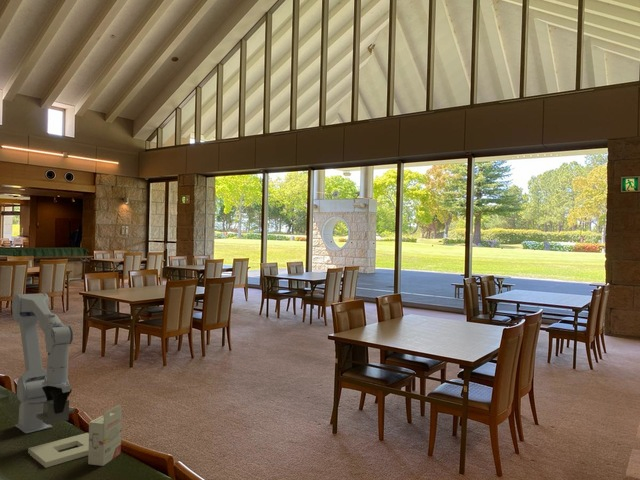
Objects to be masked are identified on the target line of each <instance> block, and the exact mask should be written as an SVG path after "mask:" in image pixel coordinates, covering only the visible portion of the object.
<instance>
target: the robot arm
mask: <svg viewBox="0 0 640 480" xmlns="http://www.w3.org/2000/svg"><path fill="white" fill-rule="evenodd" d="M11 302H12V303H11V310H12V317H13V321H14V322H16V323H18V325H19V329H20V336H21V343H22V345H21V346H22V351H23V359H24V360H23V361H24V368H25V372H24V373H22V375H20V376H19V377H18V379H17V381H16V384H17V386H16V397H17V399H18V401H20V404H19V408H18V409H19V410H18V411H19V412H18V423H16V424H15V427H16V428H18V429H19V430H20V431H22V432H23V433H24V434H30V433H33V432H38V431H42V430H46V429H51V428H53V425H52V424H49V425H47V424H45V423H44V422H42V420H39V419H38V418H36V415H37V414H42V413H43V402H44V401H49V400H53V402H54V411H55V413H56V414H57V413H62V412H63V410H64V407H65V404H66V401H67V399H68V398H69V397H70V394H71V393H72V391H73V390H72V388H71V384H70V382H69V378H68V377H69V376H68V375H69V355H70V349H69V348H70V345H71V344H72V343H73V340H74V331H73V329H72V326H71V325H67V324H64V323H63V322H62V320H61V319H60V318H59V316H58V315H57V314H56V313H52V311H51V310H50V308H49V307H50V298H49V295H48V294H47V293H46V292H42V293H41V292H40V293H24V294H22V293H21V294H19V293H16V294H14V296H13V297H12V300H11ZM37 322H38V326H39V327H40V329H41V331H42V332H43V334H44V342H45V350H46V351H45V352H46V353H47V360H46V362H47V363H46V369H45V368H44V366H43V362H42V361H43V360H42V355H41V354H42V353H41V348H40V347H41V346H40V340H39V332H38V327H37Z"/></svg>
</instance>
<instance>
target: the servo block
mask: <svg viewBox="0 0 640 480" xmlns="http://www.w3.org/2000/svg"><path fill="white" fill-rule="evenodd" d="M75 410H76V409H75V408H72V407H70V400H69V399H68V398H67V401H66V404H65V407H64V410H63V412H62V413H57V414H56V413H55V411H54V402H53V400H49V401H44V402H43V413H42V414H37V415H36V418H38V419H39V420H42V422H44V423H45V424H47V425H49V424H50V425H54V424H57V423H61V422H66V421H69V416H70V414H73V413H75V412H76V411H75Z"/></svg>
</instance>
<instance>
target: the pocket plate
mask: <svg viewBox="0 0 640 480" xmlns="http://www.w3.org/2000/svg"><path fill="white" fill-rule="evenodd" d="M76 446H77V447H76ZM73 447H74V448H73ZM70 448H71V449H70ZM66 449H67V450H66ZM62 450H63V451H62ZM88 450H89V432H85V433H81V434H77V435H73V436H69V437H66V438H63V439H62V438H61V439H58V440H55V441H51V442H46V443H42V444H39V445H35V446H31V447H28V448H27V454H28V453H29V454H30V455H29V454H28V455H29V456H31V457H32V458H33V459H34V460H35V461H37V463H39V464H40V465H42V466H43V467H44V468H47V469H48V468H49V467H53V466H56V465H59V464H64V463H67V462H69V461H73V460H77V459H80V458H83V457H84V458H85V457H88Z"/></svg>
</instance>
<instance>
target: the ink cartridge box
mask: <svg viewBox="0 0 640 480" xmlns="http://www.w3.org/2000/svg"><path fill="white" fill-rule="evenodd" d="M122 412H123V411H122V404H121V403H120V404H118V405H116V406H114V407H111V408H110V409H108V410H106V411H104V412H103V415H101V416H99V417H97V418H95V419H93V420H90V421H89V422H88V433H89V450H88V456H87V457H88V459H87V463H88V465H93V466H99V467H103V466H105V465H106V464H108V463H109V462H111V461H112V460H115V458H117V457H118V456H120V454H121V452H122V424H123V423H122V422H123V414H122Z"/></svg>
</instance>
